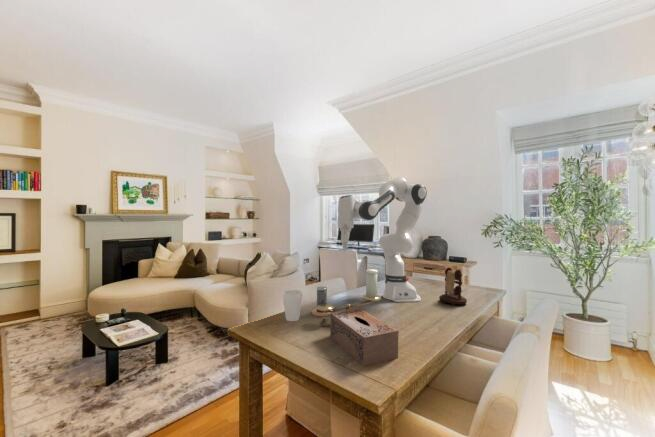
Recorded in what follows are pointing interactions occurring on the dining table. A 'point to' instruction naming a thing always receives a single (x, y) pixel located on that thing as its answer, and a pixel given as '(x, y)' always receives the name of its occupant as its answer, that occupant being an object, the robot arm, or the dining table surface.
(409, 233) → the robot arm
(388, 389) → the dining table surface
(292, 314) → the foam cup
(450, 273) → the brown wooden figurine
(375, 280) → the light tin
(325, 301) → the tin
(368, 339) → the tissue box cover
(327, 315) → the dish
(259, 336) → the dining table surface
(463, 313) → the dining table surface
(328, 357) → the dining table surface
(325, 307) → the balance
